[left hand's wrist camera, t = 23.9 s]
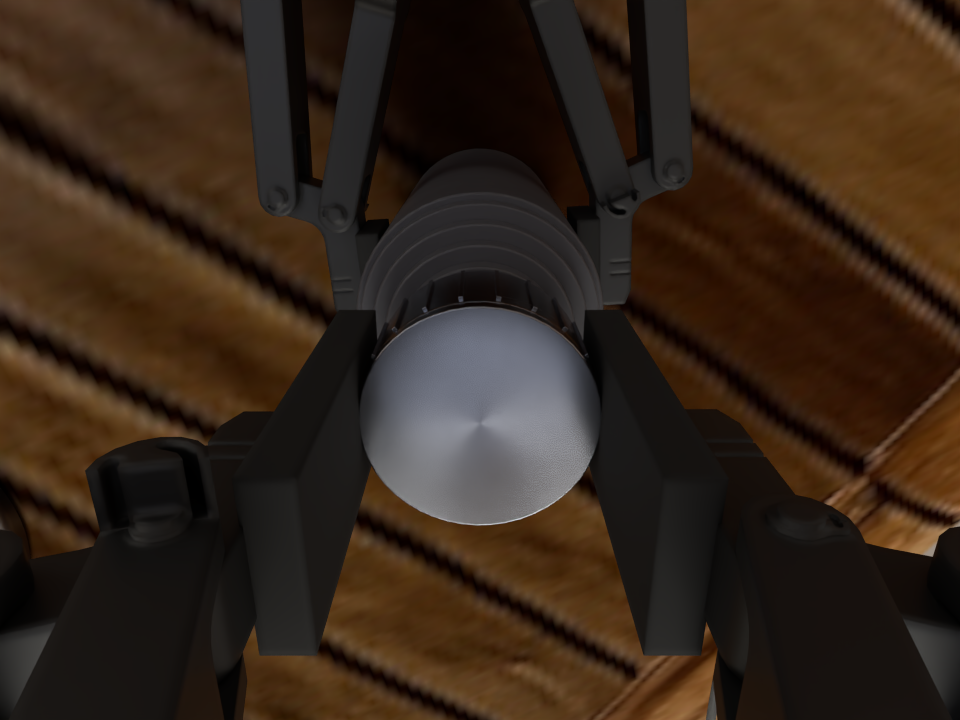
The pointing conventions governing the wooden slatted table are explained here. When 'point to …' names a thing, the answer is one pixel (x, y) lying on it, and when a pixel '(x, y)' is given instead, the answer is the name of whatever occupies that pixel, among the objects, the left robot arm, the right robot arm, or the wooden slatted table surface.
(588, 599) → the wooden slatted table surface
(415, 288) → the bottle
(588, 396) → the cap
